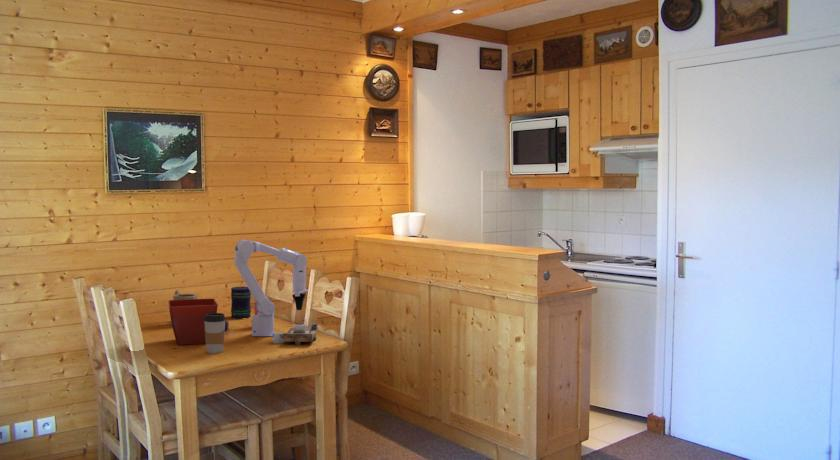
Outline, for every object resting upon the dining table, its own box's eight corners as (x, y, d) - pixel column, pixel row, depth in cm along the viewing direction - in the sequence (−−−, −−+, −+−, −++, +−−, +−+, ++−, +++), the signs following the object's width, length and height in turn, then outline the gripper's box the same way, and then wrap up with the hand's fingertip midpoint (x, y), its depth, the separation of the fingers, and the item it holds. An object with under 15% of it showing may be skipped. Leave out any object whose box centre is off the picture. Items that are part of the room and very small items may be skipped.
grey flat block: (281, 345, 294) (282, 332, 294) (289, 334, 316) (289, 322, 316) (313, 345, 295) (313, 332, 295) (318, 334, 317) (318, 322, 317)
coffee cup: (206, 349, 284) (206, 312, 283) (227, 349, 284) (227, 312, 284) (201, 354, 275) (201, 316, 275) (223, 354, 276) (223, 316, 275)
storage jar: (248, 319, 351) (248, 289, 351) (228, 318, 352) (228, 289, 351) (253, 315, 361) (253, 286, 361) (234, 315, 362) (234, 286, 361)
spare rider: (274, 343, 297) (274, 334, 297) (272, 341, 301) (272, 332, 301) (283, 343, 299) (283, 333, 298) (281, 341, 302) (281, 331, 302)
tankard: (202, 325, 334) (202, 294, 333) (175, 327, 327) (175, 295, 326) (190, 318, 350) (190, 288, 350) (164, 320, 343) (164, 290, 342)
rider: (294, 335, 299) (294, 326, 299) (295, 333, 303) (295, 324, 303) (303, 335, 299) (303, 326, 299) (304, 333, 303) (305, 324, 303)
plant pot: (168, 338, 304) (168, 299, 303) (214, 335, 311) (214, 298, 310) (169, 347, 286) (169, 306, 285) (217, 344, 293) (217, 304, 292)
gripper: (306, 282, 313) (306, 312, 313) (310, 278, 327) (309, 307, 328) (290, 282, 312) (290, 312, 313) (294, 278, 327) (294, 307, 328)
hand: (299, 309), depth 320 cm, fingers closed
